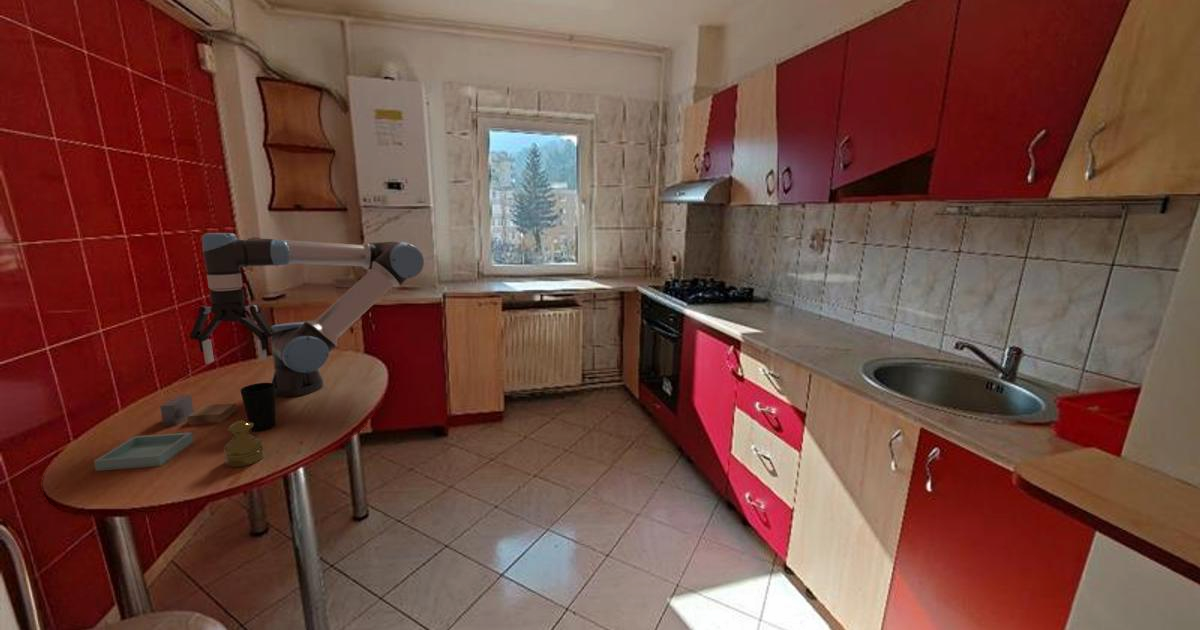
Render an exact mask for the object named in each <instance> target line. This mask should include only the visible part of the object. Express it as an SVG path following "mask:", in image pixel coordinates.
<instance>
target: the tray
mask: <svg viewBox="0 0 1200 630" xmlns="http://www.w3.org/2000/svg"><path fill="white" fill-rule="evenodd" d="M193 442H194V436H193V432H181V433H180V432H179V433H167V434H166V433H164V434H152V435H137V436H135V435H134V436H133V437H131V438H129V439H128V440H126V441H124V442H123V443H121V444H119V445H118V446H116V447H115V448H113V449H111V450H110V451H108V452H107V453H105V454H103V455H101V456H99V457H98V458H96V459H95V460H93V466H94V468H95V472H101V471H113V470H125V469H135V468H137V469H138V468H150V467H151V468H152V467H161V466H162V465H164V464H165V463H166V462H167V461H169V460H171V459H172V458H173V457H174V456H176V455H178V453H180V452H181V451H183V450H184V449H186V448H187V447H188V446H189V445H191V444H192V443H193Z"/></svg>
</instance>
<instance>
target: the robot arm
mask: <svg viewBox="0 0 1200 630" xmlns="http://www.w3.org/2000/svg"><path fill="white" fill-rule="evenodd" d="M201 242H202V245H201V246H202V254H203V260H204V261H203V262H204V267H205V272H206V278H207V285H208V289H209V290H210V291H208V292H209V300H210V303H211V306H209V305H208V304H207V305H202V306H199V307H198V316H197V318H196V320H195V323H194V326H193V327H192V330H191V332H190V335H189V336H188V337H189V339H190V340H196V341H198V346H199V351H200V352H201V353H203V356H204V361H205V362H204V363H205V364H206V365H207V364H211V363H213V362H215V357H214V351H213V344H212V339H209V337H210V335H212V333H213V332H214V331H215V329H216V328H217V327H218V326H219V325H220V323H221V322H222V323H226V322H231V323H232V322H233V323H235V322H239V323H240V324H242V325H243V326H245V327H246V328H247V329H248V330H250V332H251V333H253V334H254V335H255V336H256V337H257V338H258V339H256V343H257V344H256V345H257V351H258V359H259V362H260V363H263V362H265V361H266V360H268V356H267V350H268V349H269V348H270V346H269V338H270V344H271V351H272V359H273V366H274V367H273V368H274V372H273V375H272V379H271V382H270V383H273V384H274V385H275V397H279V398H281V397H282V398H290V397H299V396H302V395H303V396H304V395H308V394H312V393H314V392H317V391H319V390H321V389H322V388H323V387H324V385H325V384H324V378H323V377H322V374H321V372H320V370H319V369H321V368H322V367H323V366H324V365H325V364H326V362H327V361H328V358H329V355H330V353H331V352H332V351H333V350H334V349H335V348H336V347H337V346H338V338H340V336H342V334H344V333H345V332H346V331H347V330H349V328H350V327H352V325H353V324H354V323H355V322H356V321H357V320H358V319H359V318H361V317H362V315H364V314H365V313H366V312H367V311H368V310H369V309H370V308H371V307H373V305H374V304H375V303H376V302H377V301H379V300H380V299H381V298H382V297H383V296H384V295H385V294H386V293H387V292H388V291H390V289H392V288H399V287H401V285H402V284H404V283H405V282H406V281H407V280H408V279H412V278H414V277H417V276H418V275H419V274H421V272H422V271H423V269H424V266H425V261H424V259H425V257H424V255H423V254H422V252H421V250H420V249H419V247H417V246H416V245H413V244H412V243H410V242H398V241H384V242H383V241H382V242H369V241H368V242H363V243H362V244H353V243H340V242H339V243H336V242H321V241H307V240H305V241H304V240H290V239H277V238H276V239H275V238H274V239H273V238H261V237H250V238H247V239H246V240H245V239H238V238H237V235H236V234H235V233H232V232H207V233H204V234H203V235H202V236H201ZM288 264H290V265H291V264H295V265H315V266H316V265H318V266H319V265H321V266H322V265H323V266H340V267H341V266H342V267H343V266H345V267H346V266H347V267H348V266H349V267H362V268H363V269H364V270H369V271H367V273H366V274H365V275H363V277H361V279H359V280H358V281H357V282H356V283H355V284H354V285H352V286H351V287H350V288H349V289H348V290H347V291H346V292H344V294H343V295H341V296H340V297H339V298H338V299H337V300H336V301H335V302H333V303H332V305H330V306H329V307H328V308H327V309H325V311H324V312H322V314H320V315H319V316H318V317H317V318H316V319H314V320H306V321H296V322H294V321H293V322H287V323H280V324H273V325H272V326H270V324H269V322H268V321H267V319H266V318H265V316H264V315H263V313H261V312H260V307H259V305H258V304H252V305H246V302H245V301H246V299H245V292H244V289H243V288H242V287H243V285H244V284H243V279H242V270H241V268H242V267H269V266H273V267H274V266H275V267H278V266H286V265H288ZM247 312H248V314H251V317H252V318H253V319H254V321H255V322H254V321H253V320H252V319H251V318H250V316H249V315H247ZM211 313H212V314H213V315H214V317H213V318H212V319H211V321H210V322H209V324H208V325H207V326H206V327H205V324H206V322H207V320H208V317H209V314H211ZM204 327H205V329H204ZM203 329H204V330H203Z"/></svg>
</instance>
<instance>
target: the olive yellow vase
mask: <svg viewBox="0 0 1200 630" xmlns="http://www.w3.org/2000/svg"><path fill="white" fill-rule="evenodd" d="M253 426H254V424H253V422H250V421H248V420H243V419H242V420H237V421H236V422H234V423H232V424H231V425H229V426H228V427H227V431H228V432H229V433H233V434H234V436H233V437H232V439H231V440H230V441H229V442H227V443H226V444H225V446H224V447H223V452H224V453H225V456H224V458H225V464H226V466H228V467H231V468H241V467H246V466H249V465H253V464H256V463H257V462H259V461H260V460H262V459H263V458H264V456H265V454H264V446H262V445H263V439H262V438H261V437H260V436H256V435H254V434H251V433H250V432H249V431H251V428H252V427H253Z"/></svg>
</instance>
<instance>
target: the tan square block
mask: <svg viewBox="0 0 1200 630" xmlns="http://www.w3.org/2000/svg"><path fill="white" fill-rule="evenodd" d="M235 412H237V406H236V403H221V404H204V405H203V406H201V407H199V408H198V409H196V410H195V411H194V412H193V413H192V414H190V415H188V418H187V421H188V426H190V425H203V424H214V423H215V424H217V423H223V422H224V421H225V420H226V419H228V418H229V417H230V416H232V415H233V414H234V413H235Z"/></svg>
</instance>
